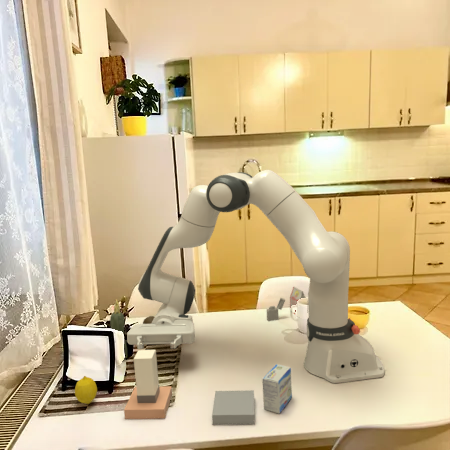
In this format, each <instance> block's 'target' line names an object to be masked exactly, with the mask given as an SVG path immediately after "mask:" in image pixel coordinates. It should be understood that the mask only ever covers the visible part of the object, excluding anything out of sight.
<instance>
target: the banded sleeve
mask: <svg viewBox="0 0 450 450" xmlns="http://www.w3.org/2000/svg"><path fill="white" fill-rule="evenodd" d="M157 361H158V359H157V350H156V349H137V352H136V354H135V355H134V357H133V365H134V367H133V368H134V375H135V376H134V377H135V384H136V386H135V387H137V402H138V403H156V401H157V399H158V396H159V393H160V388H159V387H160V383H159V382H160V381H159V371H158V362H157Z"/></svg>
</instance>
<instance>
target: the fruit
mask: <svg viewBox="0 0 450 450" xmlns="http://www.w3.org/2000/svg"><path fill="white" fill-rule="evenodd" d="M96 383H97V382H96V381H95V380H94V379H93V378H91V377H88V376H86V375H84V376H83V377H82V378H80V379H79V380H78V381H77V382H76V384H75V388H74V395H75V398H76V400H77V401H78V402H80V403H81V404H86V405H89V404H91V403H92V402H93V400H95V398H96V396H97V392H98V387H97V384H96Z"/></svg>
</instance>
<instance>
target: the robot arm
mask: <svg viewBox="0 0 450 450" xmlns="http://www.w3.org/2000/svg"><path fill="white" fill-rule="evenodd" d="M249 205H254V206H255V207H257V208H258V209H259V210H260V211H261V212H262V213H263V215H265V217H266V218H267V219H268V220H269V222H271V223H272V225H273V226H274V227H275V228H276V229H277V231H279V233H280V234H281V235H282V236H283V237H284V239H285V240H286V241H287V243H288V244H289V246H290V248H291V250H292V252H293V253H294V254H295V256H296V258H297V259H298V260H299V262H300V263H301V265H302V267H303V271H304V273H305V275H306V276H307V277H308V278H309V283H308V284H309V285H308V291H307V292H308V293H307V295H308V296H307V313H308V317H307V321H306V336H307V346H306V347H307V348H306V354H305V357H304V362H303V366H304V369H305V370H307V372H309V373H310V374H312V375H314V376H317V377H320V378H321V379H325V380H327V381H328V382H330V383H333V384H339V383H346V382H347V383H348V382H355V381H362V380H363V381H364V380H369V379H377V378H378V379H379V378H383V377H384V376H385V373H386V372H385V371H386V370H385V366H384V363H383V361H382V360H381V358H380V357H379V356H378V355H376V353H375V350H374V347H373V346H372V344H371V342H370V341H368V339H366V338H365V337H363V336H362V335H360V333H361V330H360V328H359V325H356V323H355V322H354V321H353V320H352V319H351V317H349V283H350V262H351V261H350V260H351V257H350V256H351V248H350V244H349V241H348V240H347V238H346V237H345V236H344V235H343V234H342V233H339V232H338V231H327V229H326V228H325V226H324V225H323V224H322V222H321V221H320V219H319V218H318V216H317V214H316V212H315V210H314V209H313V208H312V207H311V206H310V205H309V203H307V201H305V199H303V197H302V196H301V195H300V194H299V192H297V191H296V189H294V187H293V186H292V185H291V184H290V183H288V181H286V179H284V178H283V177H282V176H280V175H279V174H278V173H276V172H275V171H273V170H271V169H264V170H261V171H259V172H257V173H256V174H255V175H254V176H253V175H251V174H250V173H247V172H243V171H239V172H229V173H224V174H222V175H221V174H220V175H218V176H216V177H215V178H213V179H212V180H211V181H210V182H209V184H208V185H207V184H199V185H196V186H193V188H192V189H191V191H190V192H189V194H188V196H187V198H186V201H185V204H184V205H183V208H182V212H181V216H180V218H179V220H178V222H177V223H176V224H175V225H174V226H170V227H168V228H167V229H166V231H165V232H164V234H163V235H162V237H161V239H160V240H159V243H158V245H157V246H156V249H155V251H154V254H153V255H152V258H151V259H150V262H149V263H148V266H147V267H146V270H145V271H144V272H143V274H142V275H141V277H140V278H139V282H138V285H137V287H138V288H137V290H138V292H139V294H140V296H142V298H143V299H144V300H150V301H156V302H158V303H162V304H161V306H160V307H159V309H158V311H157V313H155V316H154V319H153V321H152V323H151V324H143V323H138V324H137V323H136V324H135V325H133V326H132V327H130V328H129V329H130V330H129V331H128V332H127V340H126V343H128V345H132V346H133V345H136V347H137V350H144V348H145V345H170V349H177V347H179V345H181V344H193V343H195V341H196V331H195V323H194V319H193V316H192V315H189V314H188V313H189V312H190V310H191V308H192V305H193V302H194V299H195V295H196V287H195V285H194V283H193V282H192V280H190V279H187V278H184V277H181V276H177V275H174V274H170V273H167V272H164V271H163V270H162V269H161V268H162V266H163V264H164V262H165V260H166V258H167V256H168V255H169V252H171V251H172V250H173V251H174V250H177V249H191V248H198V247H200V246H203V245H205V244H207V242H209V241H210V239H211V238H212V236H213V233H214V231H215V227H216V225H217V221H218V217H219V215H220V213H231V212H234V211H238V210H242V209H243V208H245V207H247V206H249Z"/></svg>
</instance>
